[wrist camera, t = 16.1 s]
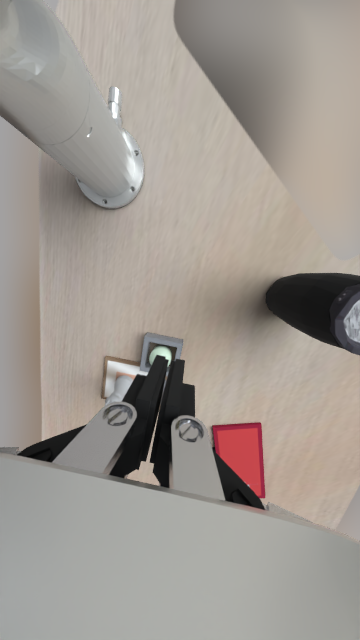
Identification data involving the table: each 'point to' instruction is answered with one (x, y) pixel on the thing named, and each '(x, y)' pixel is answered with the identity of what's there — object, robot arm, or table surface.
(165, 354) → the button
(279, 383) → the table surface
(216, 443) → the red board with handle
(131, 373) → the clipboard
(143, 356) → the button housing
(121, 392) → the rook chess piece
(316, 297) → the portable speaker
